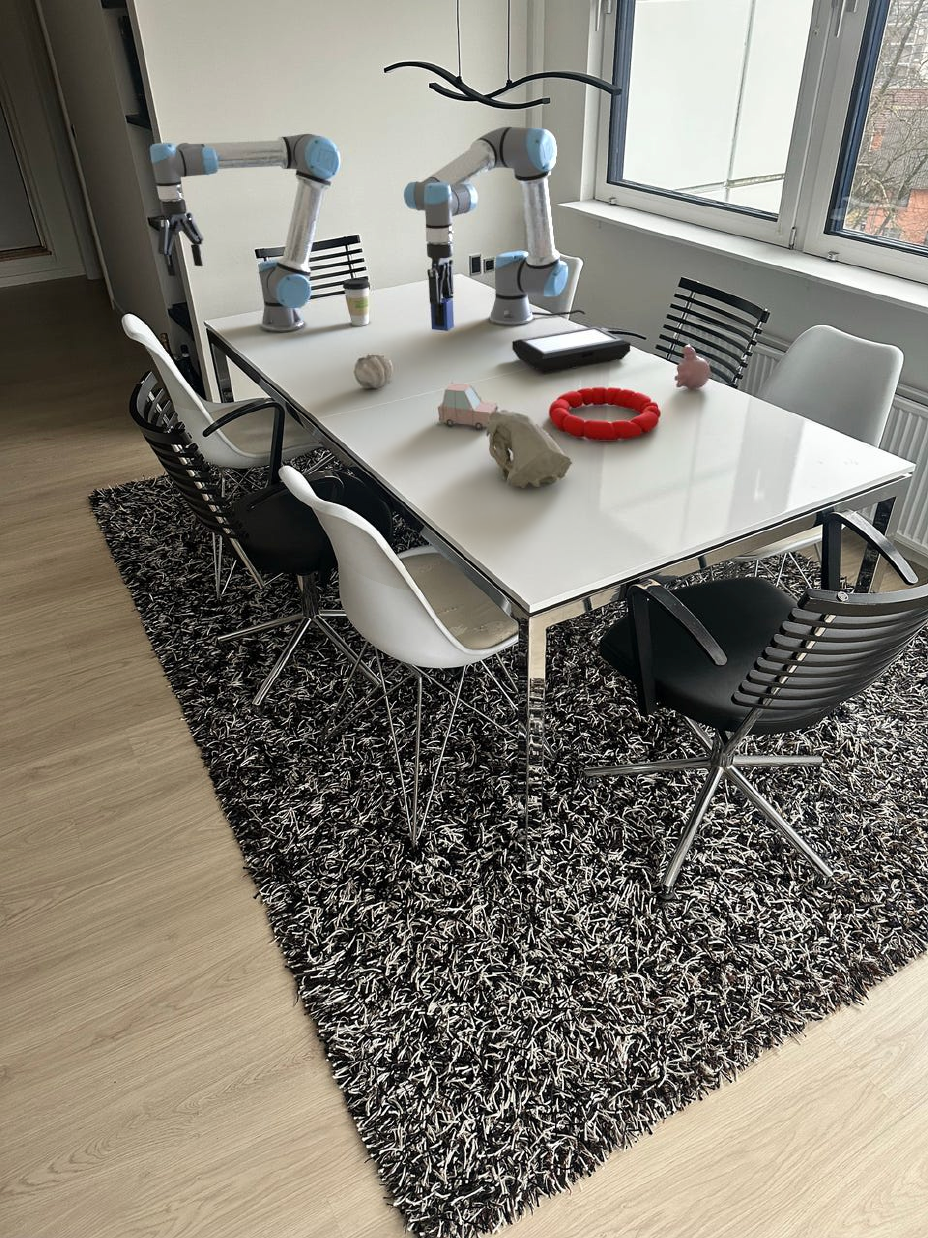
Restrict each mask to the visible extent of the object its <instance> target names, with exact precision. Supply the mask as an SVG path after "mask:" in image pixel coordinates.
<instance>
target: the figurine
mask: <svg viewBox="0 0 928 1238" xmlns="http://www.w3.org/2000/svg"><path fill="white" fill-rule="evenodd" d="M682 354H683V358H684V359H683V361H682V362H679V363H678V364H677V365H676V372H677V375H675V376H674V381H675V382H676V381H677V382H676V384H675V386H676V388H681V387H686V388H688V389H693V390H694V389H695V390H696V389H700V388H703V387H704V386H705V385H706V384H707V383H708V382H709V379H710V377H711V367H710V364H709V362H708V361H706V359H704V358H702V357H700V356H697V353H696V350H695V349H694V347H692V345H690V344H686V345H685V346H684V347H683V348H682Z"/></svg>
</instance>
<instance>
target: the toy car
mask: <svg viewBox="0 0 928 1238" xmlns="http://www.w3.org/2000/svg"><path fill="white" fill-rule="evenodd" d="M498 409H499V404H498V403H497V402H490V401H489V402H487V401H483V397H481V396H480V395H479V394H478V393H477V391H476V390H475V389H474V386H472V384H469V383H459V382H451V383H450V384H449V385H448V386H447V387H446V388H445V389H444V394H443V399H442V403H440V404H439V405H438V406H437V413H438V421H439V422H443V423H446V425H447V426H448V427H452V426H454V425H455V424H461V425H469V426H473V427H475V429H476V430H479V431H480V430H481V429H483V428H485V427H486V428H487V423H488V422H490V414H491V413H492V412H496V411H499V410H498Z"/></svg>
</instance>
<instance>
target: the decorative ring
mask: <svg viewBox="0 0 928 1238" xmlns="http://www.w3.org/2000/svg"><path fill="white" fill-rule="evenodd" d="M583 405H584V406H586V407H587V406H591V405H593V406H604V405H608V406H614V407H619V408H624V409H628V410H632V411H635V412H636V413H638V414H639V415H637V416H635V417H632V418H631V419H630V420H625V419H624V420H623V419H622V420H614V421H611V422H609V421H607V420H606V421H605V420H593V419H587V420H586V421H585V419H584V418H582V417H579V416H577V415H573V414H571V413H570V410H571V409H579V408H581V407H582V406H583ZM548 416H549V419H550V422H551V423H552V425H553V426H554V427H555V428H556V429H558V430H559V431H561V432H563V433H567V434H568V435H569V436H573V437H576V438H580V439H582V438H583V437H585V438H586V439H587V440H591V441H601V442H602V441H603V442H608V441H609V442H610V441H611V442H612V441H615V442H616V441H618V440H630V439H634V438H638V437H641V436H642V434H647V433H650V432H651V431H653V430H654V429H655V428H656V427H657V426H658V424H659V422H660V421H659V420H660V417H661V410H660V408H659V405H658V403H657V402H656V401H652V399H651V397H649V396H648V395H646V394H644V393H642V392H635V391H634V390H632V389H628V388H624V389H622V388H620V387H613V386H612V387H611V386H610V387H608V388H606V387H604V386H594V387H585V388H584V387H583V388H580V389H578V390H571V391H568V392H565V393H563V394H561V395H560V396H558V397H557V398H556V400H554V401H552V403H551V404H550V407H549V409H548Z"/></svg>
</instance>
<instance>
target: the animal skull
mask: <svg viewBox="0 0 928 1238" xmlns="http://www.w3.org/2000/svg"><path fill="white" fill-rule="evenodd" d="M485 436H486V438H487V437H489V438H488V440H489V444H488V445H489V446H488V450H489V454H490V456H491V457H492V458H493V459H494V460H495V462H496V464H497V466H499V468H500V470H501V471H502V472H501V478H502V479H507V480H506V484H507V486H517V487H518V486H519V488H523V489H524V488H526V486H527V485H529V483H531V485H533V486H534V487H536V488H540V485H541V484H542V482H544V483H549V484H550V485H553V484H555V483H556V482H557V480H561V479H563V478H565V476H566V474H567V472H568V471H569V469H570V467H571V466H572V464H573V462H572V461H571V458H570V457H568V456H567V455H565V453H564V451H562V449H561V448H560V446H559V444H557V443H556V439H555V438H554V436H553V435H551V434H550V433H548V432H547V431H546V430H545V429H544V428H542V427H541V426H539V425H538V424H537V423H536V424H535V422H534V421H533V419H532V418H531V417H530V416H529V415H527V414H524V413H519V412H515V411H509V410H507V409H502V410H500V411H499V410H497V411H496V412H492V413H491V414H490V422H488V423H487V427H486V435H485ZM511 453H512V454H511ZM511 455H512V457H513V458H512V460H511ZM507 474H508V475H507Z"/></svg>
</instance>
